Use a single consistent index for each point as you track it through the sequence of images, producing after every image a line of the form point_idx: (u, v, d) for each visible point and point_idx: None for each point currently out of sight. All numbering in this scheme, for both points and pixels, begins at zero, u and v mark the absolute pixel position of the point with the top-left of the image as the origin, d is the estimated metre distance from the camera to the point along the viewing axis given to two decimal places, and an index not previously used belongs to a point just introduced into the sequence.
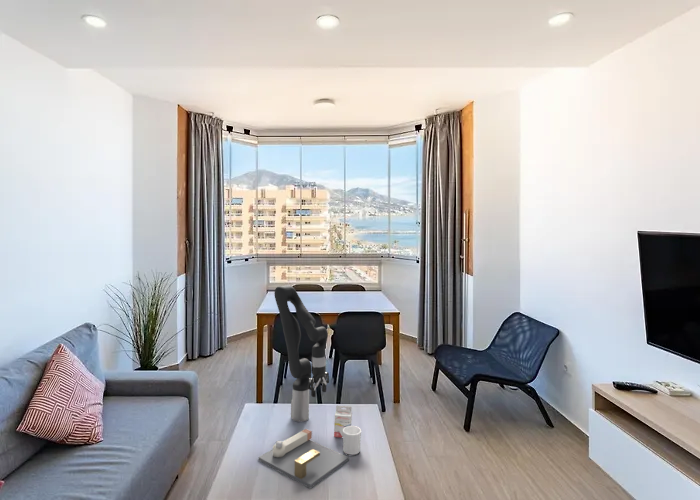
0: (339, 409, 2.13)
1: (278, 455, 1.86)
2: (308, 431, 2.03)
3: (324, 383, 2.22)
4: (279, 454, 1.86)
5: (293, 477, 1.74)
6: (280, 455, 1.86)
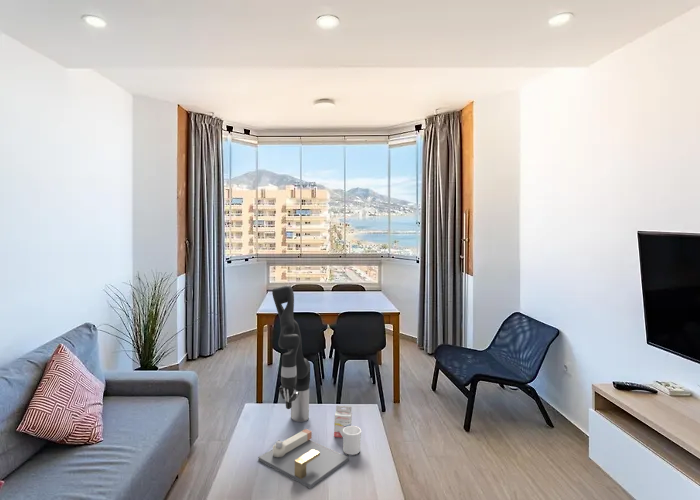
0: (339, 409, 2.13)
1: (278, 455, 1.86)
2: (308, 431, 2.03)
3: None
4: (279, 454, 1.86)
5: (293, 477, 1.74)
6: (280, 455, 1.86)
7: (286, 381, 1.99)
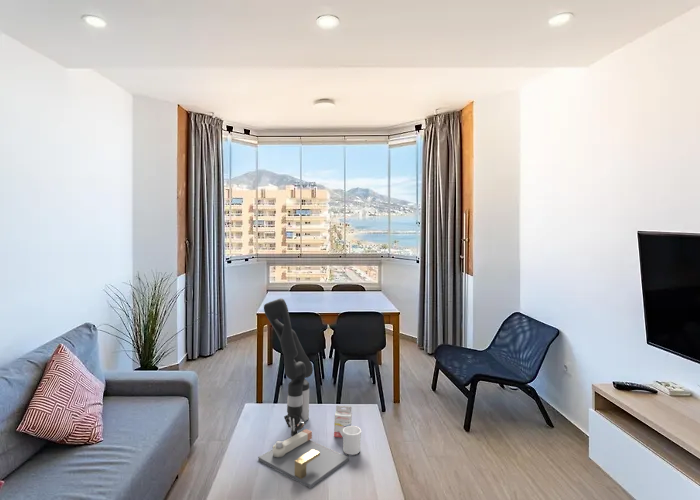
0: (339, 409, 2.13)
1: (278, 455, 1.86)
2: (308, 431, 2.03)
3: None
4: (279, 454, 1.86)
5: (293, 477, 1.74)
6: (280, 455, 1.86)
7: (292, 410, 1.98)
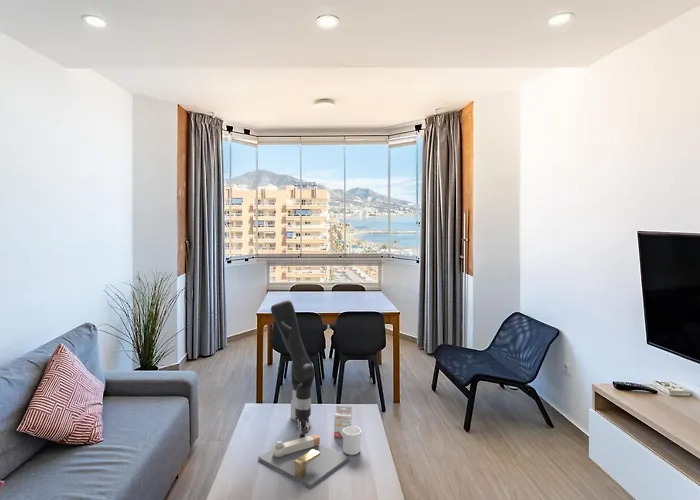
0: (339, 409, 2.13)
1: (276, 455, 1.86)
2: (316, 437, 1.98)
3: None
4: (277, 454, 1.86)
5: (293, 477, 1.74)
6: (278, 455, 1.86)
7: (298, 413, 1.95)
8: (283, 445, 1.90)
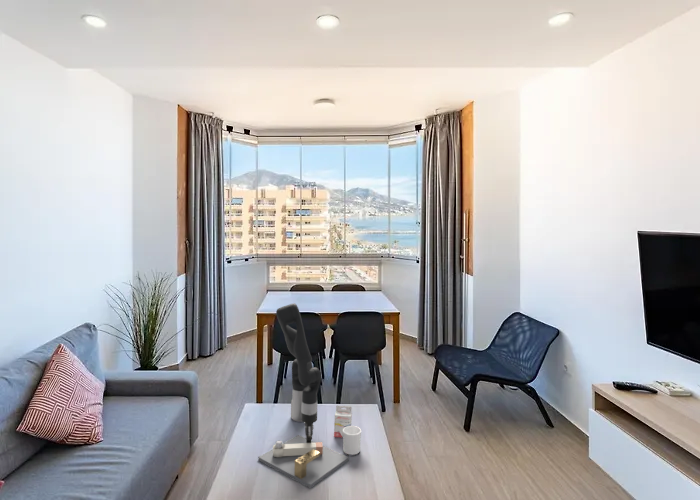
0: (339, 409, 2.13)
1: (274, 454, 1.87)
2: (320, 445, 1.90)
3: None
4: (274, 454, 1.86)
5: (293, 477, 1.74)
6: (275, 455, 1.86)
7: (302, 417, 1.91)
8: (283, 446, 1.89)
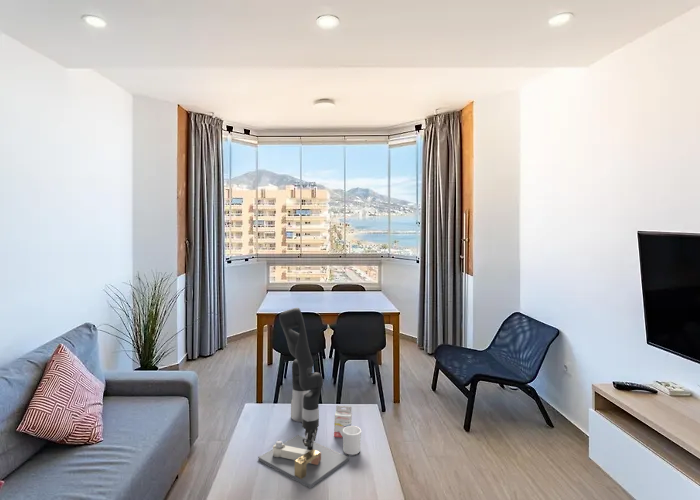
0: (339, 409, 2.13)
1: (273, 453, 1.88)
2: None
3: (312, 440, 1.88)
4: (273, 453, 1.87)
5: (293, 477, 1.74)
6: (273, 454, 1.87)
7: (302, 422, 1.87)
8: (283, 447, 1.88)
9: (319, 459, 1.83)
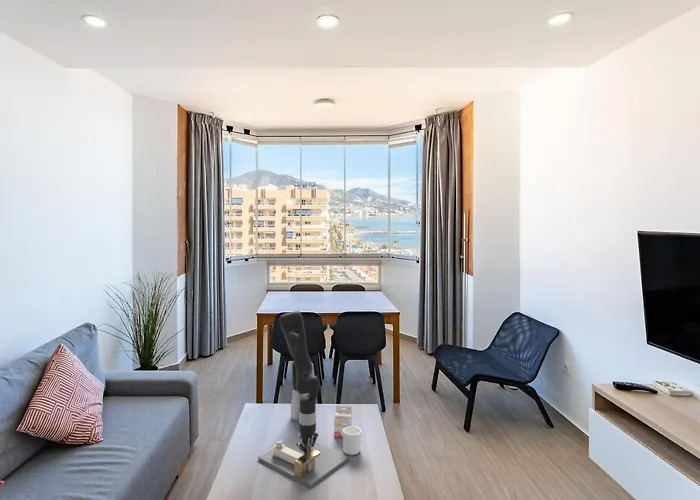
0: (339, 409, 2.13)
1: None
2: None
3: (309, 446, 1.84)
4: None
5: (293, 477, 1.74)
6: (273, 453, 1.88)
7: None
8: (282, 448, 1.87)
9: (312, 466, 1.77)
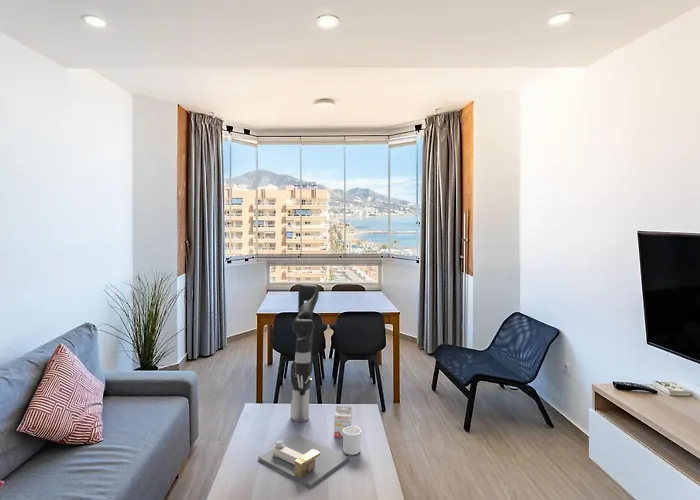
0: (339, 409, 2.13)
1: None
2: None
3: None
4: None
5: (293, 477, 1.74)
6: (273, 453, 1.88)
7: (300, 367, 1.95)
8: (282, 448, 1.87)
9: (312, 466, 1.77)
